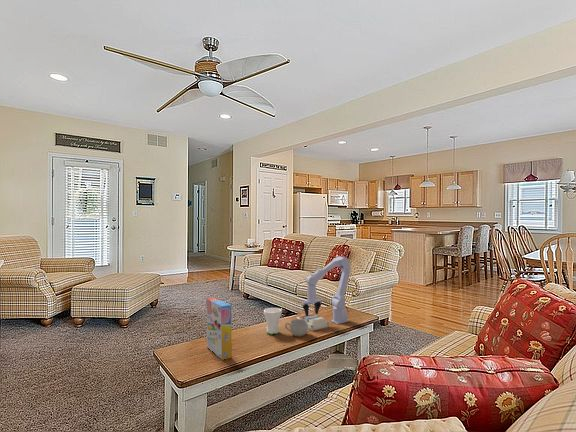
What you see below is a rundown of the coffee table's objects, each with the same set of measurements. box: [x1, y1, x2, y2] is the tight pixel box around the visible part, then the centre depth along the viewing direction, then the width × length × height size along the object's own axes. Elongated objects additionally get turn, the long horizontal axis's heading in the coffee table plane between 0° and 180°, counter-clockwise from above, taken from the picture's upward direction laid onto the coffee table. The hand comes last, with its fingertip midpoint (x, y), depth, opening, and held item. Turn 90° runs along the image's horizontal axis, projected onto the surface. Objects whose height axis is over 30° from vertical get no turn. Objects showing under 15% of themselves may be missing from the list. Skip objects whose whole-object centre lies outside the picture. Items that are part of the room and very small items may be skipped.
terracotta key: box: [298, 312, 315, 319], centre depth 224 cm, size 10×4×2 cm, turn 120°
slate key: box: [304, 314, 320, 322], centre depth 219 cm, size 10×4×2 cm, turn 120°
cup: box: [263, 307, 283, 336], centre depth 205 cm, size 11×11×14 cm
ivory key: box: [309, 316, 326, 325], centre depth 214 cm, size 10×4×2 cm, turn 120°
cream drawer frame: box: [295, 316, 330, 332], centre depth 219 cm, size 13×20×4 cm, turn 30°
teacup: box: [284, 318, 309, 338], centre depth 201 cm, size 14×11×8 cm
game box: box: [205, 297, 233, 361], centre depth 176 cm, size 21×6×27 cm, turn 35°
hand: (311, 314), depth 219 cm, fingers open, 7 cm apart
